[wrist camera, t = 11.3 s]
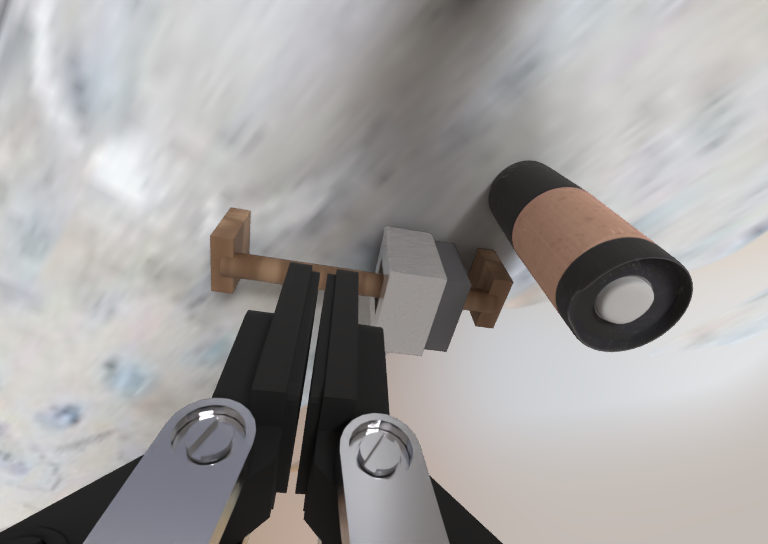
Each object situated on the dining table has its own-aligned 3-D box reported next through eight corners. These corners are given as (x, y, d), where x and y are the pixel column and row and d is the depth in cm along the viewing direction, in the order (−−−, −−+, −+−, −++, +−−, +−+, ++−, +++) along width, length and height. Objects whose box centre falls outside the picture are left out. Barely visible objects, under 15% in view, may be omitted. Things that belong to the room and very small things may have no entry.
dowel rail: (230, 257, 44) (208, 295, 38) (230, 207, 41) (207, 239, 35) (478, 293, 48) (495, 333, 42) (494, 250, 45) (516, 286, 39)
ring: (413, 301, 46) (422, 348, 39) (431, 240, 42) (444, 281, 35) (434, 304, 46) (446, 351, 40) (454, 243, 42) (471, 285, 35)
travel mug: (572, 194, 42) (714, 307, 25) (512, 239, 45) (604, 371, 28) (533, 140, 39) (665, 229, 22) (471, 193, 42) (546, 309, 25)
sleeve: (369, 296, 46) (371, 350, 38) (385, 225, 41) (390, 271, 34) (411, 302, 47) (421, 356, 39) (431, 233, 42) (447, 279, 34)
